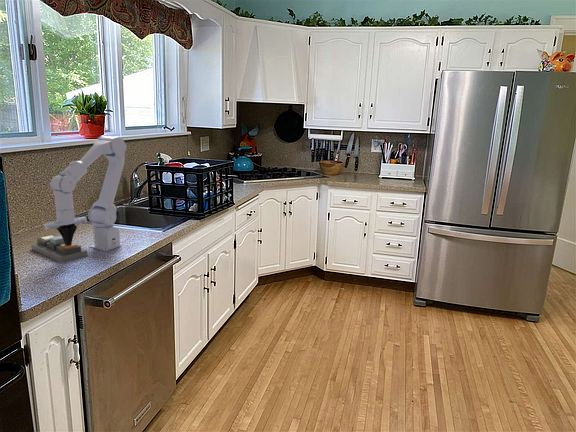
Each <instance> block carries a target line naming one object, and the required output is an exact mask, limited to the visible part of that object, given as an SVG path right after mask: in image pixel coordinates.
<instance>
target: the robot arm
mask: <svg viewBox="0 0 576 432" xmlns="http://www.w3.org/2000/svg"><path fill="white" fill-rule="evenodd" d="M127 147H128V146H127V144H126V142H125V140H124V139H123V137H120V136H114V137H113V136H106V135H101V136H99V137H97V138H96V139H95V141H94V142H93V145H92V146H91V147H90V149H88V151H86V153H85V154H84V155H83V156H82V157H80V159H79V160H74V161H71V162H69V163H68V164H69V165H68V166H67V167H66V168H65V169H64V170H63V171H62V170H61V172H59V174H58V175H55V176H53V177H52V178H51V180H50V183H49V184H48V185H49V188H50V190H52V191H53V195H54V205H55V206H54V207H55V213H56V215H55V216H56V220H54V221H50V222H46V223H44V224H43V227H44V228H43V229H44V230H45V231H49V230H53V229H56V230H57V231H58V232H59V234H60V236H62V238H63V240H64V243H65V245H67V246H69V245H72V243H73V239H74V235H75V232H76V231H77V227H78V226H77V225H78V224H86V223H88V220H89V221H90V222H91V225H92V230H93V244H91V245H89V247H90V248H93V249H97V250H100V251H110V250H113V249H116V248H119V247H122V246H123V244H121V238H120V231H119V228H117V227H116V226H114V224H115V222H116V221H117V210H118V208H117V206H116V205H115V203H114V201H115V198H116V195H117V192H118V191H117V190H118V187H119V184H120V181H121V176H122V173H123V170H124V167H125V162H126V150H127ZM101 156H104V157H105V158H106V159H107V160H108V166H107V170H106V171H105V176H104V179H103V180H104V181H103V183H102V187H101V190H100V193H99V197H98V199H97V200H96V201H95V202H93V203H92V206H91V208H90V209H89V210H88V213H87V217H86V216H81V217H79V216H78V217H75V207H74V198H73V197H74V196H73V191H74V190H75V188H76V184H77V183H78V181H80V180H81V179H82V178H83V176H85V174H87V172H88V167H89V166H90V165H91V164H93V162H95V161H96V160H97V159H98V158H100V157H101Z"/></svg>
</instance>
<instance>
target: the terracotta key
mask: <svg viewBox="0 0 576 432" xmlns="http://www.w3.org/2000/svg"><path fill="white" fill-rule="evenodd" d="M77 245H78V244H76V243H74V242H72V245H69V246H67V245H65V244H62V245H60V247H61V248H63V249H69V248H73V247H77Z"/></svg>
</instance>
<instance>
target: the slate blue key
mask: <svg viewBox="0 0 576 432" xmlns="http://www.w3.org/2000/svg"><path fill="white" fill-rule="evenodd" d="M55 236H56V235H55ZM50 243H52V244H54V245H58V244H62V243H64V240H63V238H62V236H61V235H57V236H56V237H52V238H50Z"/></svg>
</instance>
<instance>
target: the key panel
mask: <svg viewBox="0 0 576 432" xmlns="http://www.w3.org/2000/svg"><path fill="white" fill-rule="evenodd" d="M51 235H52V234H51ZM52 236H54V237H56V235H54V234H53V235H52ZM62 244H65V243H62ZM62 244H58V245H54V244H52V243H50V240H48V241H44V240H41V237H37V238H36V243H32V244H31V245H30V246H31V250H33V251H35V252H37V253H39V254H41V255H43V256H46V257H48V258H50V259H52V260H55V261H57V262H59V263H64V262H67V261H73V260H75V259H79V258H83V257H87V256H88V250H87V249H85V248H82V246H81V245H78V244H76V245H77V247H73V248H69V249H63V248H61V247H60V245H62Z"/></svg>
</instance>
